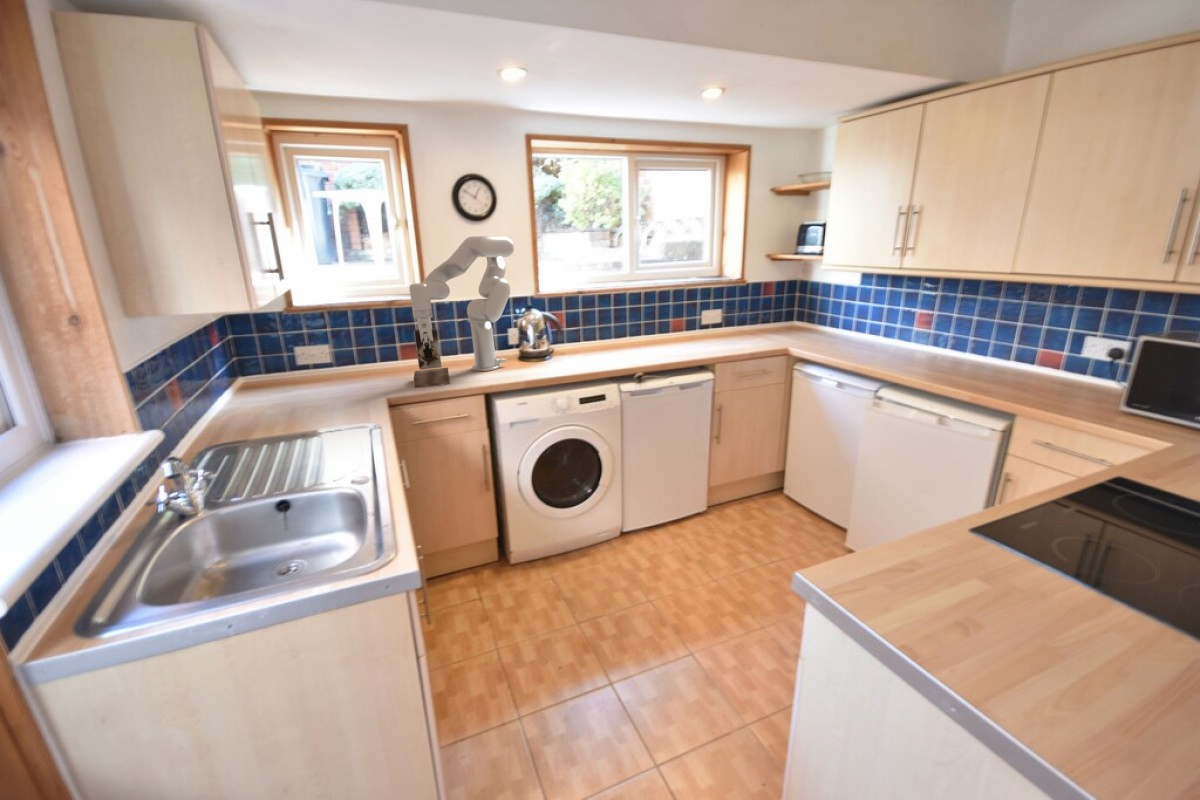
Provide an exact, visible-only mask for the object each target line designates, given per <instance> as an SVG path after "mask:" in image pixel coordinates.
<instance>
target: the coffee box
mask: <svg viewBox="0 0 1200 800" xmlns="http://www.w3.org/2000/svg"><path fill="white" fill-rule="evenodd" d="M413 333H414V341H415V349H416V356H417V362H418V363H417V364H418V369H419V371H420V370H430V369H439V368H443V365H442V361H441V360H442V359H441V358H442V357H441V352H440V344H439V343H440V342H439V336H438V335H439V334H438V329H437V328H436V327H432V334H433V342H432V341H430V346H431V348H432V355H433V358H426V359H425V356H424V350H423V349H424V346H423V342H421V338H420V333H419V329H414V330H413ZM423 333H424V332H423ZM423 339H424V338H423ZM423 339H422V341H423ZM428 341H429V340H428Z"/></svg>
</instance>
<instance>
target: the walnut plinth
mask: <svg viewBox="0 0 1200 800" xmlns="http://www.w3.org/2000/svg"><path fill="white" fill-rule="evenodd" d="M413 373H414V374H413V383H414V388H415V389H417V388H425V387H426V386H427V387H434V385H435V386H442V385H441V384H444V385H450V384H451V382H450V373H449V368H448V367H439V368H431V369H423V370H420V369H419V370H415V371H414V372H413Z"/></svg>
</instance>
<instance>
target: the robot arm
mask: <svg viewBox="0 0 1200 800" xmlns="http://www.w3.org/2000/svg"><path fill="white" fill-rule="evenodd" d="M514 250H515V246H514V242H513V241H512V239H510V238H509V237H507V236H483V235H480V236H475V235H474V236H468V237H467V238H465V239H464V240H463V241H462V243H461V244H460V245H459V246H458V247H457V249H456V250H455V251H454V252H453V253H452V255H450V257H449V258H448V259H446V260H445V261H443V262H442V263H441V264H439V266H438V265H437V267H435V268H434V269H433V270H432V271H431V272H430V273H429V274H428V275H427V276H426V277H425V278H424V280H423V281H422V282H418V283H411V284H410V285H409V295H410V296H409V297H410V301H411V307H412V315H413V320H414V319H415V320H416V322H417V327H418V330H419V333H420V338H421V342H423V346H424V349H423V350H424V356H425V359H426V358H433V355H432V348H431V346H430V341H432V342H433V334H432V328H433V326H432V325H433V324H432V319H431V318H433V317H434V316H433V309H432V308H433V307H432V301H435V300H437V301H440V300H445V299H447V298H448V297H449V296H450V293H451V289H450V286H449V285H448V284H447V282H449V281H450V280H452V279H454V278H457V277H459V276H461V275H464V274H465V273H466V272H467V271H468V270H469V268H470V267H471V266H472V265H473V263H475V261H476V260H477V259H478V258H485V259H486V268H485V272H484V274H483V276H482V278H481V281H480V283H479V286H478V293H479V295H480V296H481V297H482V298H484V299H481V298H479V299H478V298H476V299H473V300H471V301H469V303H468V305H467V307H466V314H467V318H468V321H469V325H470V329H471V338H472V347H473V355H474V365H472V367H471V369H472V370H473V371H475V372H488V371H494V370H497V369H499V368H500V367H501V364H504V363H507V358H503V357H500V358H498V357H497V356H496V349H495V347H496V346H495V338H494V329H493V325H492V323H495V322H497V321H498V320H499V319H501V317H502V315H503V312H504V310H505V308H506V305H507V303H508V301H509V298H510V295H511V285H510V284H509V282H508V281H507V280H506V279H505V278H504V277H505V274H506V271H507V270H506V269H507V268H506V262H505V259H504V258H507V257H510V256H511V255H512V254H513V253H514ZM423 332H424V333H423ZM423 338H424V339H423ZM422 339H423V341H422ZM428 340H429V341H428Z"/></svg>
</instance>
